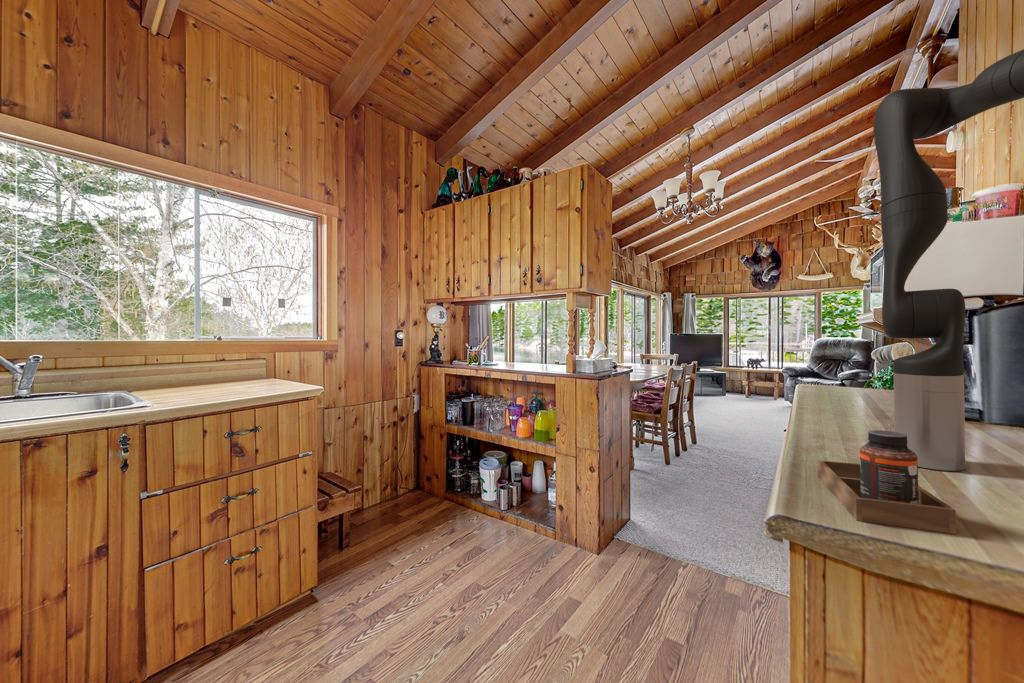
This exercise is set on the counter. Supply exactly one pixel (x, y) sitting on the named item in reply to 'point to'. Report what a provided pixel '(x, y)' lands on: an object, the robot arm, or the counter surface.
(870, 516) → the caddy
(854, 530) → the counter surface
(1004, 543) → the counter surface
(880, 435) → the supplement bottle
